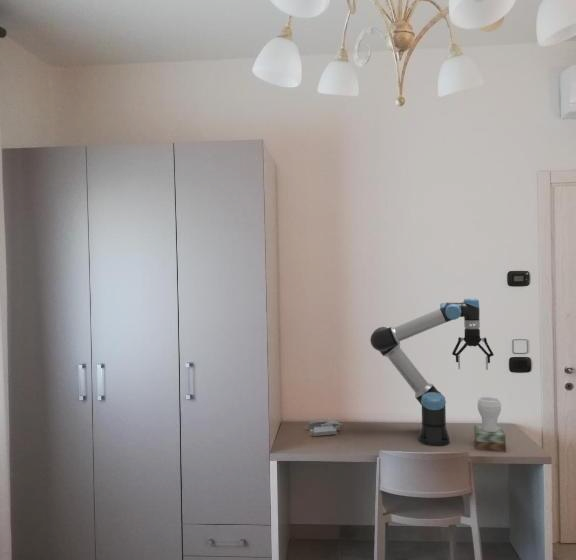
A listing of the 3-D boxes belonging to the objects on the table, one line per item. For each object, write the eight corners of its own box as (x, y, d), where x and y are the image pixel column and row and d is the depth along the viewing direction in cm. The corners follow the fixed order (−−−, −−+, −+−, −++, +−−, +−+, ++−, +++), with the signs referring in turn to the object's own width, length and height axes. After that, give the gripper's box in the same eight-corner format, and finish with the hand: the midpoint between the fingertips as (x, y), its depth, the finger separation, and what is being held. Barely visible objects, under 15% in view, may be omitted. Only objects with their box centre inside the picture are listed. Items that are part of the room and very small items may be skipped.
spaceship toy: (304, 430, 280) (304, 419, 280) (339, 427, 284) (338, 416, 284) (310, 438, 266) (309, 426, 266) (346, 435, 270) (346, 423, 270)
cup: (500, 427, 250) (499, 397, 250) (502, 433, 240) (502, 402, 240) (477, 426, 253) (476, 396, 253) (479, 432, 243) (478, 401, 243)
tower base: (476, 449, 242) (476, 433, 242) (474, 441, 254) (474, 425, 254) (505, 451, 238) (505, 434, 238) (502, 443, 251) (502, 426, 251)
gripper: (447, 328, 263) (447, 369, 263) (498, 329, 256) (499, 371, 256) (446, 327, 271) (447, 367, 271) (497, 327, 263) (497, 368, 263)
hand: (472, 369), depth 263 cm, fingers open, 13 cm apart
